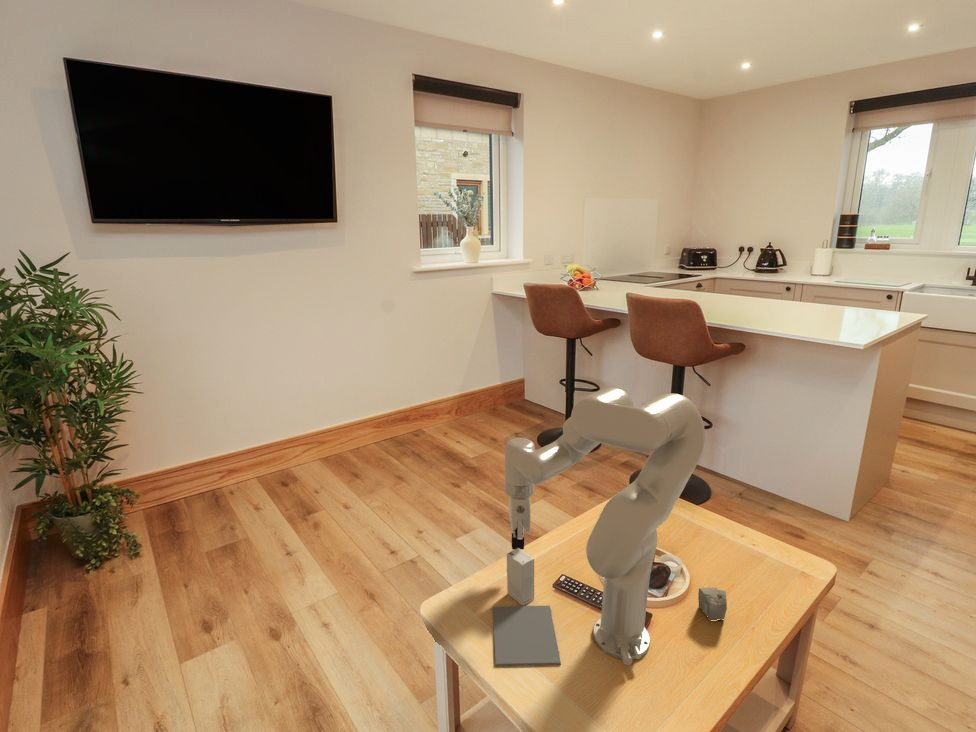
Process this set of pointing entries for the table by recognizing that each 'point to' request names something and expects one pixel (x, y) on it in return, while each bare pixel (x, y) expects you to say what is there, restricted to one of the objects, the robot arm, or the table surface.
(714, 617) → the mineral specimen
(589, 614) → the table surface
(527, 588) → the skincare box
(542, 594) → the table surface
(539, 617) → the mat
